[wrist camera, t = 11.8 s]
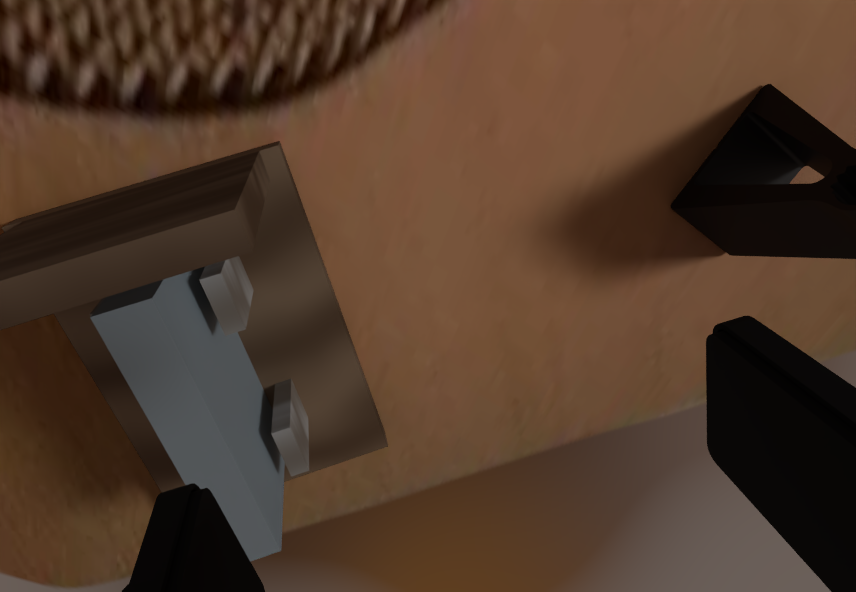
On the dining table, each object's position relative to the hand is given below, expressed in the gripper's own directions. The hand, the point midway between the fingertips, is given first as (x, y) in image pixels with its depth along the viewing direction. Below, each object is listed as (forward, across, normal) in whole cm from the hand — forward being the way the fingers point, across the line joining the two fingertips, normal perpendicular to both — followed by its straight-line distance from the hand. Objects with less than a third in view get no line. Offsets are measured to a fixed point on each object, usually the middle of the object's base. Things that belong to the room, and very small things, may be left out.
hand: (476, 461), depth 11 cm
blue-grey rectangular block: (+22, +11, +8) cm, 26 cm away
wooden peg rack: (+24, +11, +8) cm, 27 cm away
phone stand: (+25, -23, +7) cm, 35 cm away
